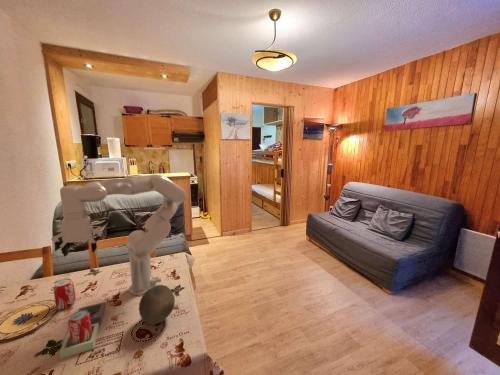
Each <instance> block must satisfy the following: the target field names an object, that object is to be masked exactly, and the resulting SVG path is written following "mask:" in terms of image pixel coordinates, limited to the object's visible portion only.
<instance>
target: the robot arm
mask: <svg viewBox="0 0 500 375" xmlns="http://www.w3.org/2000/svg"><path fill="white" fill-rule="evenodd" d="M149 192H151V193H152V192H157V193H158V194H160V195H162V197H163V201H162V203H161V205H160V206H159V207H158V209H157V210H156V211H154V212H153V214H152V215H150V216H149V217H148V219H147V220H146V221H145V223H144V227H145V229H146V232H145V231H144V230H140V229H139V230H138V229H137V230H134V231H131V233H129V235H128V236H127V239H126V245H127V250H128V251H127V252H128V256H129V258H128V259H129V268H130V275H131V276H130V277H131V284H130V285H129V288H128V292H129V294H131V295H133V296H141V295H142V296H143V295H144V293H145V292H146V291H147V290H149V289H150V288H152V287H154V286H156V283H157V284H158V283H160V282H162V278H161V277H159V276H153V274H152V264H151V262H152V261H151V254H152V253H153V252H154V251H155V250H156V249H157V248H158V247H159V246H160V244H162V242H163V241H164V240H165V239H166V238H167V237H168V235H170V232H171V228H172V225H171V222H170V220H171V219H172V218H173V217H174V215H175V214H176V212H177V209H178V205H179V204H182V203H184V202H185V201H186V200H187V197H188V196H187V192H186V191H185V189H184V188H182V187H181V186H179V185H178V184H176V183H175V182H173V181H172V180H170V179H169V178H168V177H166V176H164V175H159V174H148V175H147V174H146V175H140V176H133V177H124V178H114V179H113V178H112V179H106V180H105V179H104V180H96V181H91V182H87V183H85V185H84V186H81V185H79V184H78V185H77V184H75V185H74V184H73V185H65V186H62V187H61V188H60V190H59V194H60V195H59V196H60V202H61V207H62V208H61V209H62V215H63V218H62V220H61V228H60V230H61V231H60V233H58V234H57V235H54V236H52V237H51V241H52V242H53V243H54V245H56V246H58V247H59V248H60V250H61V254H62V255H63V257H67V256H68V254H69V246H68V243H76V242H85V241H89V242H90V247H91V252H92V253H95V252H96V250H97V248H98V246H97V242H98V241H99V239H100V238H101V237H102V234H103V232H104V231H102V230H99V229H96V228H94V227H93V223H92V220H91V217H90V215H91V213H92V212H91V211H90V210H87V206H86V203H97V202H101V201H104V200H105V199H107V198H106V197H107V196H110V195H111V196H112V195H125V196H135V195H139V194H145V193H149ZM95 234H96V235H97V236H96V237H95ZM59 238H61V240H59Z"/></svg>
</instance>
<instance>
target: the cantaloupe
mask: <svg viewBox="0 0 500 375" xmlns="http://www.w3.org/2000/svg"><path fill="white" fill-rule="evenodd" d="M175 302H176V299H175V295H174V293H173V291H172V290H171V289H170V288H169V287H168V286H167V285H164V284H158V285H155V286H154V287H152V288H150V289H149V290H147V291H146V292H145V293H144V294H142V296H141V298H140V301H139V306H138V310H139V316H140V317H141V319H142V320H143V321H144V322H145V324H149V325H157V324H160V323H162V322H164V321H165V320H166V319H167V318H168V317H169V316H170V315H171V313H172V312H173V310H174V308H175Z"/></svg>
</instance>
